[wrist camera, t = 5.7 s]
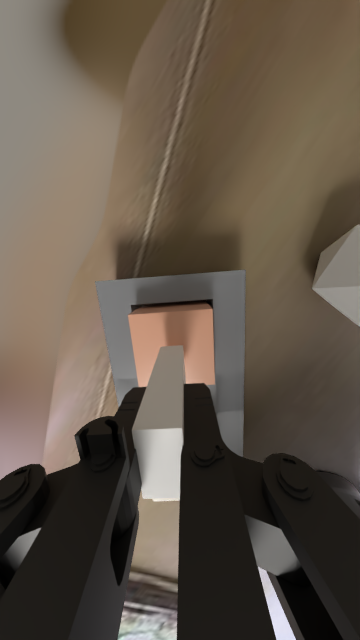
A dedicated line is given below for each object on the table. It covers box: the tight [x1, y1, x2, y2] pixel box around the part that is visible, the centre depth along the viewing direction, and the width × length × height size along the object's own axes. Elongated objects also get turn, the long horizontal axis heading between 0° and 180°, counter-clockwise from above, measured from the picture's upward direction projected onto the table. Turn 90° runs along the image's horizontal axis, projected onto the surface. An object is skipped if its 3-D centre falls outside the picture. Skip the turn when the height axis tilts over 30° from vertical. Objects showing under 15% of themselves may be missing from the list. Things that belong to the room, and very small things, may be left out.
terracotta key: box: [128, 300, 215, 387], centre depth 15 cm, size 6×6×5 cm
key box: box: [95, 270, 246, 457], centre depth 18 cm, size 12×22×4 cm, turn 4°
